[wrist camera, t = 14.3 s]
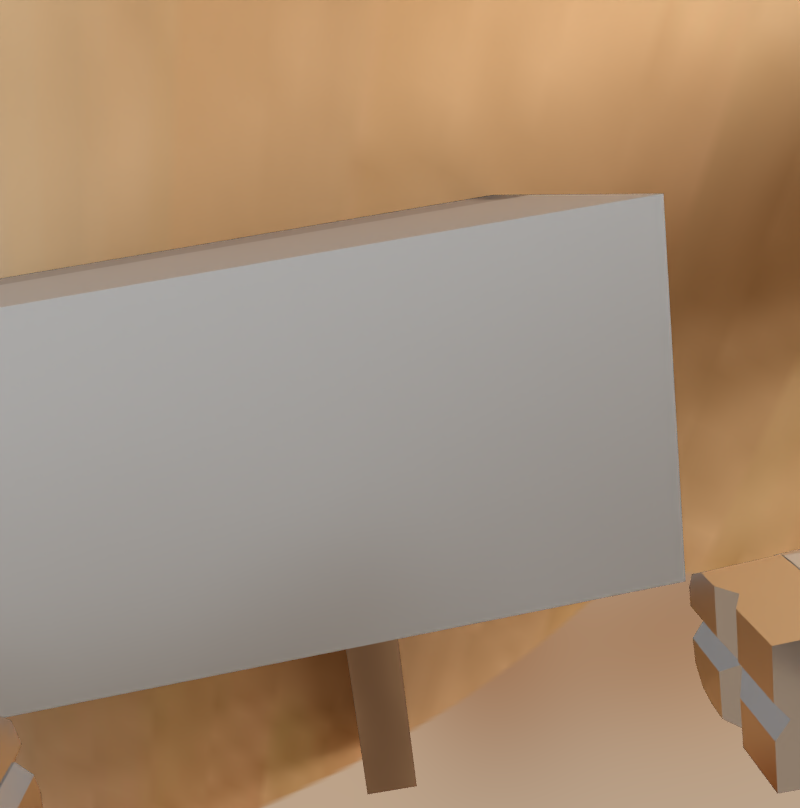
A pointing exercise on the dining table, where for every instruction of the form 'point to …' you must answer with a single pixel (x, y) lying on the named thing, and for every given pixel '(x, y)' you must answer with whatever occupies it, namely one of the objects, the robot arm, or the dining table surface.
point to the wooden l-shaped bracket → (381, 716)
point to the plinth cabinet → (332, 440)
